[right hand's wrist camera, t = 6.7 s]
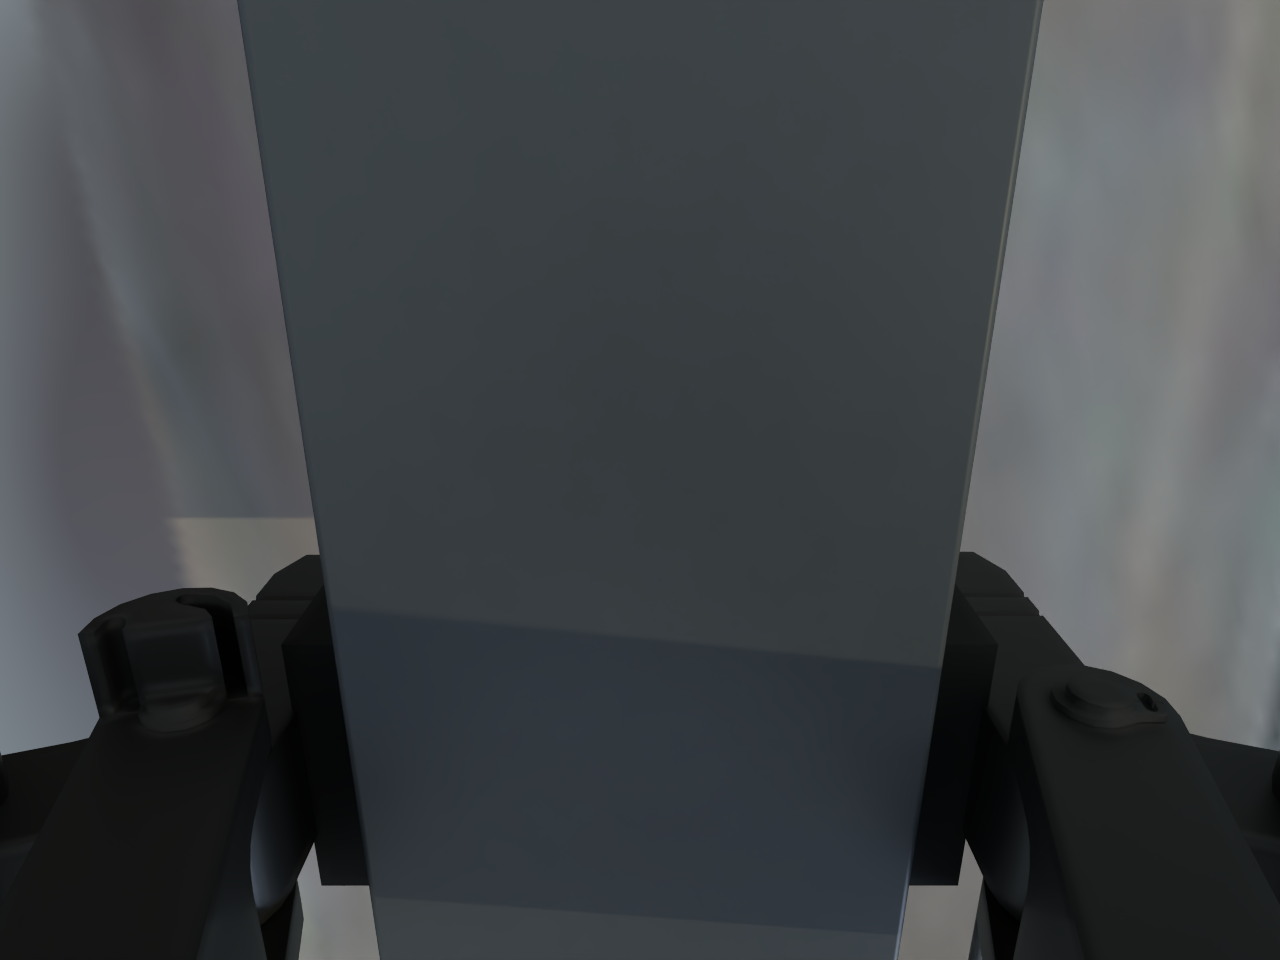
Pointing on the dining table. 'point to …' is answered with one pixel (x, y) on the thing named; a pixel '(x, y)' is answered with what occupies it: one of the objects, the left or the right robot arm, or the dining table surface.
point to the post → (639, 445)
